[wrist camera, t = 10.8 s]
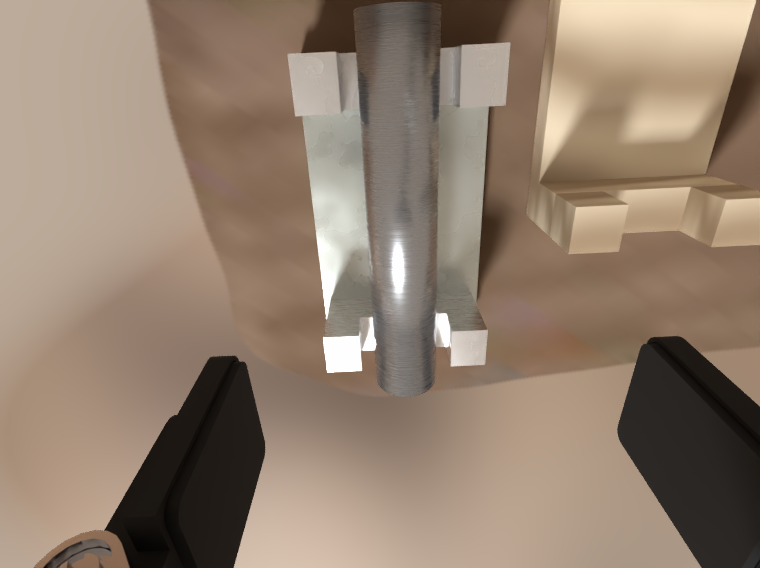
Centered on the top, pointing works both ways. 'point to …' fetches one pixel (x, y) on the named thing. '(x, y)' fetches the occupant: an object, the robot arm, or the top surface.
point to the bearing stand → (637, 123)
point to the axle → (401, 184)
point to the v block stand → (347, 195)
